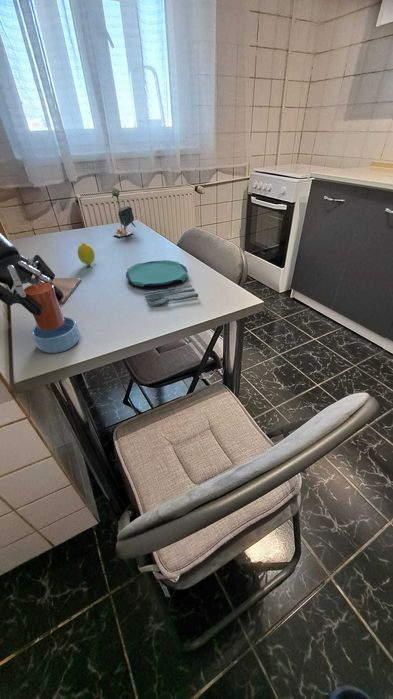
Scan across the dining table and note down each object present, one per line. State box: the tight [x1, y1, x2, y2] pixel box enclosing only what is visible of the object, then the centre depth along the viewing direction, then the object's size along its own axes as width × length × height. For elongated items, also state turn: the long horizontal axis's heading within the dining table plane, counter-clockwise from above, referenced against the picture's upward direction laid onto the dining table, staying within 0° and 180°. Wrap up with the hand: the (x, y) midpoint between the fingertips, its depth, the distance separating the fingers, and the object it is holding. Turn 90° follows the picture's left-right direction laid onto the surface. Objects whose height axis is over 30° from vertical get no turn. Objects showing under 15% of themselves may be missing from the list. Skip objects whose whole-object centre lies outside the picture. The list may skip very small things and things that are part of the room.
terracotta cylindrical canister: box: [23, 283, 65, 331], centre depth 62 cm, size 6×6×8 cm
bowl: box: [30, 316, 81, 354], centre depth 67 cm, size 9×10×4 cm
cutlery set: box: [125, 259, 199, 307], centre depth 92 cm, size 20×30×2 cm, turn 17°
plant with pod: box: [111, 186, 136, 237], centre depth 131 cm, size 8×11×20 cm
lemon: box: [77, 242, 96, 266], centre depth 104 cm, size 6×6×8 cm
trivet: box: [52, 277, 82, 305], centre depth 89 cm, size 16×10×1 cm, turn 0°
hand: (51, 305), depth 62 cm, fingers closed on terracotta cylindrical canister, 5 cm apart
